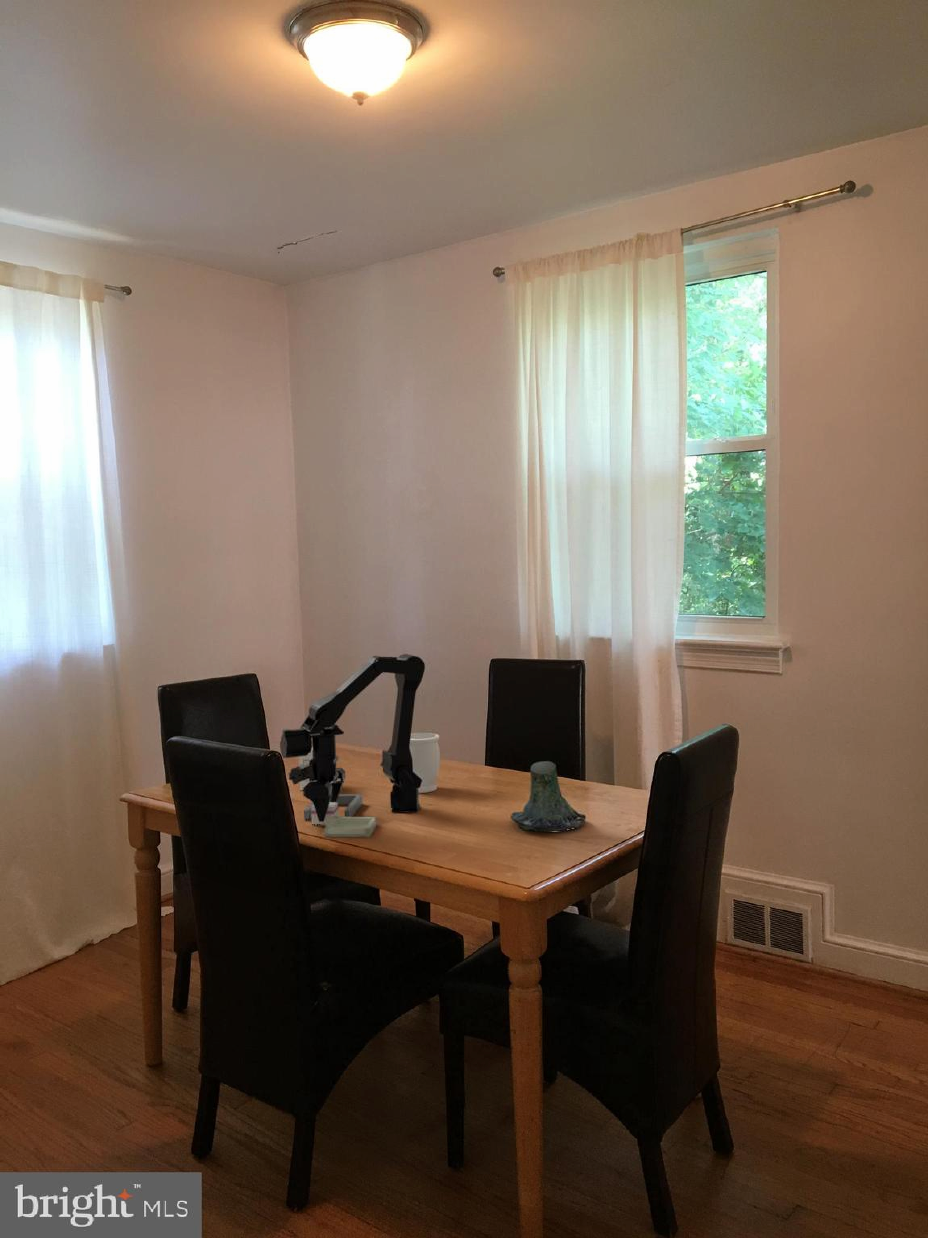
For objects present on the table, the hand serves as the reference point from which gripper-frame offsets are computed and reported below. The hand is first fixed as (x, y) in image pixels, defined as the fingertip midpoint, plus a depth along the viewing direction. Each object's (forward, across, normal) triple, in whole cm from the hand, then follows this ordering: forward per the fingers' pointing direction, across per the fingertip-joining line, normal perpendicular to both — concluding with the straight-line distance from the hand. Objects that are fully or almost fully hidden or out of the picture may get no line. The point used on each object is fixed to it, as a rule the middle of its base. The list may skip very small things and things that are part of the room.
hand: (326, 816), depth 239 cm
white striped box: (+1, +1, 0) cm, 2 cm away
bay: (+1, -8, 0) cm, 8 cm away
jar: (+1, -31, +19) cm, 37 cm away
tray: (+1, +8, +8) cm, 11 cm away
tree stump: (+2, 0, +54) cm, 54 cm away
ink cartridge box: (+1, -33, -12) cm, 35 cm away
